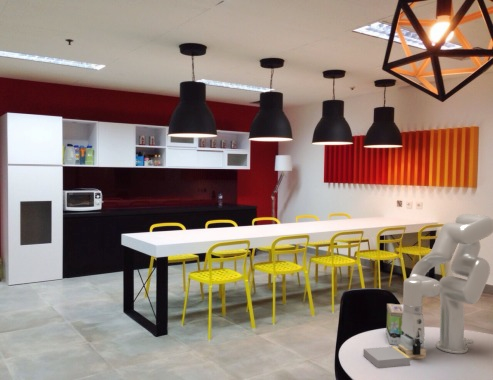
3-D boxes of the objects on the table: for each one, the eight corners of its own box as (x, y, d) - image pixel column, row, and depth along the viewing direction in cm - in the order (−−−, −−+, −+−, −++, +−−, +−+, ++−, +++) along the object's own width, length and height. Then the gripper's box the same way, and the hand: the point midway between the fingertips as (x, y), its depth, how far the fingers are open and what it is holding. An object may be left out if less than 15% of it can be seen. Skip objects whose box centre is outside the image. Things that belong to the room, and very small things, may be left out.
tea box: (413, 346, 195) (413, 313, 194) (389, 344, 197) (390, 312, 196) (407, 334, 209) (408, 304, 209) (385, 333, 211) (386, 302, 211)
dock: (393, 353, 187) (393, 346, 187) (410, 365, 175) (410, 357, 175) (363, 355, 184) (363, 348, 184) (377, 368, 172) (378, 360, 172)
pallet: (417, 352, 188) (417, 333, 188) (425, 358, 182) (426, 338, 182) (398, 354, 186) (398, 335, 186) (406, 359, 180) (406, 340, 180)
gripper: (433, 314, 176) (432, 358, 177) (408, 302, 193) (407, 343, 193) (416, 315, 174) (415, 360, 175) (393, 303, 191) (392, 344, 192)
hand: (411, 350), depth 184 cm, fingers closed on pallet, 6 cm apart
